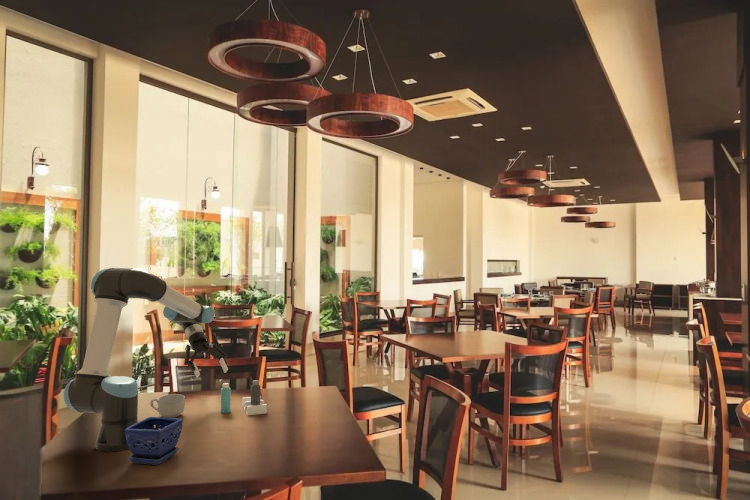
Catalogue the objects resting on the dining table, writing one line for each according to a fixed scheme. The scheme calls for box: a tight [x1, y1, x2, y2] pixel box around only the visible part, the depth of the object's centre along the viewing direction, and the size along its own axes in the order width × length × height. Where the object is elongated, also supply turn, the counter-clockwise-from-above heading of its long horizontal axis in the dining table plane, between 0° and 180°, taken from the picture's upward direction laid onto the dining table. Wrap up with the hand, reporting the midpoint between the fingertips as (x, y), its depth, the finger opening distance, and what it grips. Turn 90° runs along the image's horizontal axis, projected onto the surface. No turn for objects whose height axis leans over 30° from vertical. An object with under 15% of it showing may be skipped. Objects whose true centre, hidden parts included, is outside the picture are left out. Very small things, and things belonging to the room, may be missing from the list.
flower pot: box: [125, 416, 184, 466], centre depth 172 cm, size 13×13×12 cm
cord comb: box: [241, 395, 268, 416], centre depth 226 cm, size 16×8×4 cm, turn 22°
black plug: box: [250, 379, 261, 405], centre depth 223 cm, size 4×4×13 cm
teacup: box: [149, 393, 186, 418], centre depth 220 cm, size 14×11×8 cm
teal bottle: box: [220, 382, 232, 414], centre depth 222 cm, size 4×4×13 cm
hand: (212, 373), depth 230 cm, fingers open, 13 cm apart
